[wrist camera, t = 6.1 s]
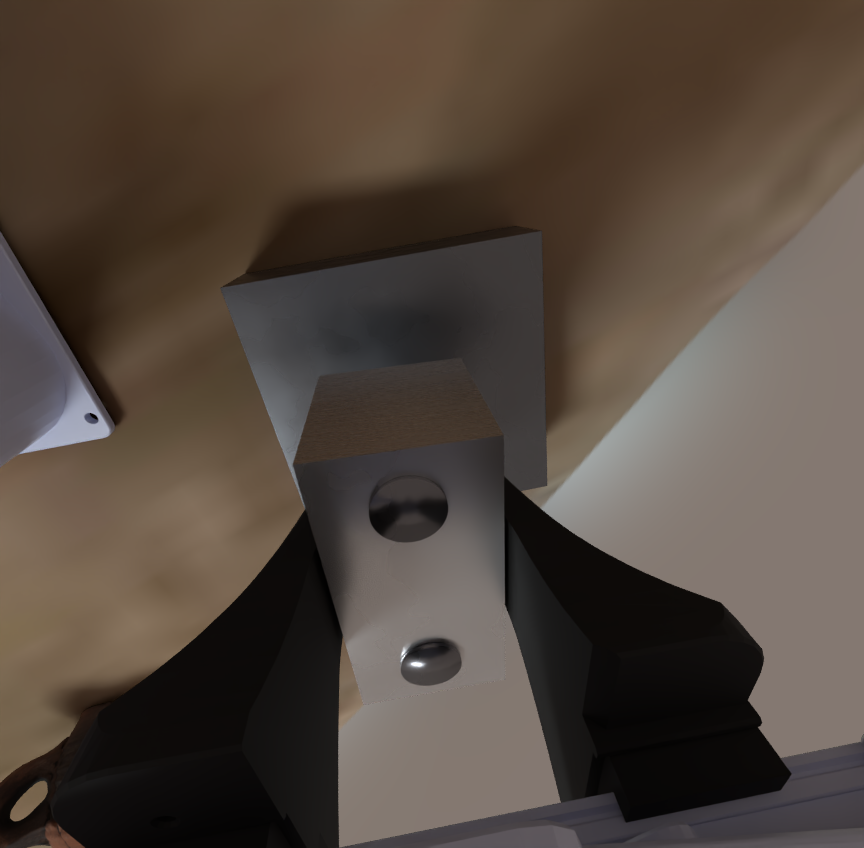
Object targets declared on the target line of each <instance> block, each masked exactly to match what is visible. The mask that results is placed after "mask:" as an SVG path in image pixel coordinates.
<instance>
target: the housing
mask: <svg viewBox="0 0 864 848" xmlns="http://www.w3.org/2000/svg"><path fill="white" fill-rule="evenodd" d="M293 468H294V471H295V475H296V478H297V482H298V485H299V488H300V492H301V495H302V499H303V502H304V505H305V509H306V512H307V515H308V519H309V522H310V526H311V529H312V532H313V536H314V539H315V542H316V546H317V549H318V553H319V556H320V559H321V563H322V566H323V569H324V573H325V576H326V580H327V583H328V586H329V590H330V593H331V596H332V600H333V603H334V607H335V610H336V613H337V617H338V620H339V624H340V627H341V630H342V634H343V637H344V640H345V644H346V647H347V651H348V654H349V657H350V661H351V664H352V667H353V671H354V674H355V678H356V681H357V684H358V688H359V691H360V694H361V698H362V701H363V705H366V704H371V703H377V702H383V701H388V700H394V699H400V698H405V697H411V696H416V695H421V694H427V693H433V692H438V691H443V690H449V689H455V688H460V687H466V686H471V685H477V684H483V683H488V682H494V681H499V680H505V550H504V435H503V433H502V431H501V429H500V428H499V426H498V424H497V422H496V420H495V419H494V417H493V415H492V413H491V411H490V410H489V408H488V406H487V404H486V402H485V401H484V399H483V397H482V395H481V393H480V392H479V390H478V388H477V386H476V384H475V383H474V381H473V379H472V377H471V375H470V374H469V372H468V370H467V368H466V367H465V365H464V363H463V361H462V359H461V358H456V359H448V360H440V361H432V362H424V363H416V364H408V365H400V366H392V367H385V368H377V369H369V370H361V371H353V372H345V373H337V374H329V375H321V376H319V379H318V382H317V385H316V389H315V392H314V395H313V399H312V402H311V405H310V409H309V412H308V415H307V419H306V422H305V425H304V429H303V432H302V435H301V439H300V442H299V445H298V449H297V452H296V455H295V458H294V462H293Z"/></svg>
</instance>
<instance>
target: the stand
mask: <svg viewBox="0 0 864 848" xmlns="http://www.w3.org/2000/svg"><path fill="white" fill-rule="evenodd" d="M221 291H222V293H223V296H224V299H225V301H226V304H227V307H228V309H229V312H230V314H231V317H232V320H233V322H234V325H235V327H236V330H237V333H238V335H239V338H240V340H241V343H242V346H243V348H244V351H245V354H246V356H247V359H248V361H249V364H250V367H251V369H252V372H253V374H254V377H255V380H256V382H257V385H258V387H259V390H260V393H261V395H262V398H263V400H264V403H265V406H266V408H267V411H268V414H269V416H270V419H271V421H272V424H273V427H274V429H275V432H276V434H277V437H278V440H279V442H280V445H281V447H282V450H283V453H284V455H285V458H286V461H287V463H288V466H289V468H290V471H291V474H292V476H293V479H294V481H295V484H296V487H297V489H298V492H299V494H300V497H301V500H302V502H303V499H302V495H301V492H300V488H299V485H298V482H297V478H296V475H295V471H294V468H293V462H294V458H295V455H296V452H297V449H298V445H299V442H300V439H301V435H302V432H303V429H304V425H305V422H306V419H307V415H308V412H309V409H310V405H311V402H312V399H313V395H314V392H315V389H316V385H317V382H318V379H319V376H321V375H329V374H337V373H345V372H353V371H361V370H369V369H377V368H385V367H392V366H400V365H408V364H416V363H424V362H432V361H440V360H448V359H456V358H461V359H462V361H463V363H464V365H465V367H466V368H467V370H468V372H469V374H470V375H471V377H472V379H473V381H474V383H475V384H476V386H477V388H478V390H479V392H480V393H481V395H482V397H483V399H484V401H485V402H486V404H487V406H488V408H489V410H490V411H491V413H492V415H493V417H494V419H495V420H496V422H497V424H498V426H499V428H500V429H501V431H502V433H503V435H504V476H505V477H506V478H507V479H508V480H509V481H510V482H511V483H512V484H513V485H514V486H515V487H516V488H518V489H519V490H520V491H523V490H528V489H533V488H538V487H543V486H547V451H546V402H545V354H544V306H543V258H542V231H540V230H535V229H529V228H524V227H519V226H513V227H507V228H501V229H496V230H490V231H484V232H479V233H473V234H467V235H462V236H456V237H450V238H445V239H439V240H433V241H428V242H422V243H416V244H411V245H405V246H399V247H394V248H388V249H382V250H377V251H371V252H365V253H360V254H354V255H348V256H343V257H337V258H331V259H326V260H320V261H314V262H309V263H303V264H297V265H292V266H286V267H280V268H275V269H269V270H263V271H258V272H252V273H247V274H243V275H242V276H240V277H238V278H236V279H235V280H233V281H231V282H230V283H228V284H226V285H225V286H223V287H221ZM303 505H304V502H303ZM304 508H305V505H304Z"/></svg>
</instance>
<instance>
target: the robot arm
mask: <svg viewBox="0 0 864 848" xmlns="http://www.w3.org/2000/svg"><path fill="white" fill-rule="evenodd" d="M90 413H92V414H95V415H96V416H97V417H98V420H96V419H94V418H92V417H91V416H90ZM114 430H115V425H114V422H113V421H112V419H111V417H110V416H109V414H108V412H107V411H106V409H105V407H104V405H103V404H102V402H101V400H100V399H99V397H98V395H97V394H96V392H95V390H94V389H93V387H92V385H91V384H90V382H89V380H88V378H87V377H86V375H85V373H84V372H83V370H82V368H81V367H80V365H79V363H78V362H77V360H76V358H75V357H74V355H73V353H72V351H71V350H70V348H69V346H68V345H67V343H66V341H65V340H64V338H63V336H62V335H61V333H60V331H59V329H58V328H57V326H56V324H55V323H54V321H53V319H52V318H51V316H50V314H49V313H48V311H47V309H46V308H45V306H44V304H43V302H42V301H41V299H40V297H39V296H38V294H37V292H36V291H35V289H34V287H33V286H32V284H31V282H30V281H29V279H28V277H27V275H26V274H25V272H24V270H23V269H22V267H21V265H20V264H19V262H18V260H17V259H16V257H15V255H14V254H13V252H12V250H11V248H10V247H9V245H8V243H7V242H6V240H5V238H4V237H3V235H2V233H1V232H0V467H1V466H2V465H4V464H5V463H7V462H8V461H9V460H11V459H12V458H14V457H15V456H16V455H18V454H22V453H27V452H32V451H38V450H43V449H48V448H53V447H59V446H64V445H69V444H75V443H80V442H85V441H90V440H96V439H101V438H105V437H108V436H109V435H110V434H111V433H112V432H113V431H114ZM504 550H505V606H506V608H507V611H508V613H509V616H510V619H511V621H512V624H513V627H514V630H515V633H516V636H517V639H518V642H519V646H520V649H521V653H522V656H523V660H524V663H525V667H526V670H527V674H528V678H529V681H530V685H531V688H532V692H533V696H534V700H535V703H536V707H537V711H538V714H539V718H540V722H541V726H542V730H543V733H544V737H545V741H546V745H547V749H548V752H549V756H550V761H551V765H552V769H553V772H554V777H555V780H556V785H557V789H558V793H559V796H560V801H561V803H557V804H552V805H547V806H543V807H538V808H533V809H528V810H523V811H518V812H513V813H508V814H503V815H498V816H493V817H488V818H484V819H478V820H473V821H469V822H464V823H459V824H454V825H449V826H444V827H439V828H434V829H429V830H424V831H419V832H414V833H409V834H404V835H400V836H395V837H390V838H385V839H380V840H375V841H370V842H365V843H360V844H355V845H351V846H345V847H341V848H864V734H863V736H862V738H861V742H858V743H853V744H848V745H843V746H838V747H833V748H829V749H823V750H818V751H813V752H809V753H803V754H799V755H794V756H789V757H784V758H780V757H779V756H778V754H777V753H776V752H775V750H774V749H773V747H772V746H771V745H770V743H769V742H768V741H767V739H766V738H765V736H764V735H763V734H762V732H761V731H760V730H759V728H758V727H759V726H761V724H762V721H761V718H760V716H759V715H758V713H757V712H756V711H755V709H754V708H753V707H752V706H751V704H750V703H749V702H748V698H749V696H750V694H751V692H752V690H753V688H754V686H755V684H756V681H757V680H758V677H759V675H760V673H761V670H762V666H763V662H764V656H763V651H762V648H761V647H760V646H759V645H758V644H757V643H756V641H755V640H754V639H753V638H752V637H751V636H750V634H749V633H748V632H747V631H746V630H745V628H744V627H743V626H742V625H741V624H740V622H739V621H738V620H737V619H736V618H735V617H734V616H733V615H732V614H731V613H730V612H729V611H728V610H727V609H726V608H725V607H724V606H723V604H722V603H720V602H718V601H715V600H712V599H709V598H707V597H704V596H701V595H698V594H696V593H693V592H690V591H688V590H685V589H682V588H679V587H677V586H674V585H672V584H669V583H667V582H665V581H662V580H660V579H658V578H655V577H653V576H651V575H649V574H646V573H644V572H642V571H640V570H638V569H636V568H633V567H631V566H629V565H627V564H625V563H624V562H622V561H620V560H618V559H616V558H614V557H612V556H610V555H608V554H606V553H605V552H603V551H601V550H599V549H598V548H596V547H594V546H593V545H591V544H589V543H588V542H586V541H585V540H583V539H581V538H580V537H578V536H577V535H575V534H573V533H572V532H571V531H569V530H568V529H566V528H565V527H563V526H562V525H561V524H559V523H558V522H557V521H555V520H554V519H552V518H551V517H550V516H549V515H548V514H546V513H545V512H544V511H543V510H542V509H540V508H539V507H538V506H537V505H536V504H534V503H533V502H532V501H531V500H530V499H529V498H527V497H526V496H525V495H524V494H523V493H522V492H521V491H520V490H519V489H518V488H516V487H515V486H514V485H513V484H512V483H511V482H510V481H509V480H508V479H507V478H506V477H505V476H504ZM342 638H343V634H342V630H341V627H340V624H339V620H338V617H337V613H336V610H335V607H334V603H333V600H332V596H331V593H330V590H329V586H328V583H327V580H326V576H325V573H324V569H323V566H322V563H321V559H320V556H319V553H318V549H317V546H316V542H315V539H314V536H313V532H312V529H311V526H310V522H309V519H308V515H307V512H306V509H305V510H304V512H303V513H302V515H301V517H300V518H299V520H298V521H297V523H296V524H295V526H294V527H293V529H292V530H291V532H290V533H289V534H288V536H287V537H286V539H285V540H284V542H283V543H282V544H281V546H280V547H279V549H278V550H277V551H276V553H275V554H274V555H273V556H272V558H271V559H270V560H269V561H268V563H267V564H266V565H265V567H264V568H263V569H262V570H261V572H260V573H259V574H258V575H257V576H256V578H255V579H254V580H253V581H252V582H251V584H250V585H249V586H248V587H247V588H246V589H245V590H244V591H243V592H242V594H241V595H240V596H239V597H238V598H237V599H236V600H235V601H234V602H233V603H232V604H231V605H230V606H229V607H228V608H227V609H226V610H225V611H224V612H223V613H222V614H221V615H220V616H219V617H217V618H216V619H215V620H214V621H213V622H212V623H211V624H210V625H209V626H208V627H207V628H206V629H205V630H204V631H203V632H202V633H201V634H199V635H198V636H197V637H196V638H195V639H194V640H193V641H191V642H190V643H189V644H188V645H187V646H186V647H184V648H183V649H182V650H181V651H180V652H178V653H177V654H176V655H175V656H173V657H172V658H171V659H170V660H169V661H167V662H166V663H165V664H164V665H162V666H161V667H160V668H159V669H157V670H156V671H155V672H153V673H152V674H151V675H150V676H148V677H147V678H145V679H144V680H143V681H141V682H140V683H139V684H137V685H136V686H135V687H133V688H132V689H130V690H129V691H128V692H126V693H125V694H124V695H122V696H121V697H119V698H118V699H117V700H115V701H114V702H113V703H111V704H110V705H108V706H107V707H105V708H104V709H103V710H101V711H100V712H99V713H98V715H97V717H96V718H95V720H94V722H93V723H92V725H91V727H90V728H89V730H88V732H87V734H86V735H85V737H84V739H83V741H82V743H81V745H80V747H79V748H78V750H77V752H76V754H75V756H74V758H73V760H72V762H71V764H70V766H69V768H68V769H67V771H66V773H65V775H64V777H63V779H62V781H61V783H60V785H59V787H58V789H57V790H56V792H55V794H54V796H53V799H52V801H51V803H50V806H51V812H52V816H53V818H54V820H55V821H56V822H57V824H58V825H59V826H60V827H61V828H62V829H63V830H64V831H65V832H66V833H68V834H69V835H70V836H71V837H73V838H74V839H75V840H76V841H77V842H79V843H80V844H81V845H82V846H84V847H85V848H339V823H338V717H339V671H340V656H341V646H342Z"/></svg>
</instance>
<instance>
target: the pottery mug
mask: <svg viewBox="0 0 864 848" xmlns="http://www.w3.org/2000/svg"><path fill="white" fill-rule="evenodd" d="M111 703H112V702H108V703H105V704H100V705H97V706H93V707H91V708H88V709H86V710H85V711H83V713H82V715H81V717H80V719H79V721H78V723H77V725H76V727H75V728H74V730H73V732H72V733H71V735H70V737H67V738H66V739H64V740H63V741H62V742H61V743H60V744H59V745H58V746H57V747H55V748H54V749H53V750H51V751H49V752H48V753H46V754H44V755H42V756H40V757H38V758H36V759H34V760H32V761H30V762H28V763H26V764H24V765H22V766H21V767H19V768H17V769H16V770H15V771H14V772H12V773H11V774H10V775H9V776H7V777H6V778H5V779H4V780H3V781H2V782H1V783H0V848H27V847H31V846H36V845H46V846H52V848H85V847H84V846H82V845H81V844H80V843H79V842H77V841H76V840H75V839H74V838H73V837H71V836H70V835H69V834H68V833H66V832H65V831H64V830H63V829H62V828H61V827H60V826H59V825H58V824H57V822H56V821H55V820H54V818H53V816H52V812H51V806H50V803H51V801H52V799H53V796H54V794H55V792H56V790H57V789H58V787H59V785H60V783H61V781H62V779H63V777H64V775H65V773H66V771H67V769H68V768H69V766H70V764H71V762H72V760H73V758H74V756H75V754H76V752H77V750H78V748H79V747H80V745H81V743H82V741H83V739H84V737H85V735H86V734H87V732H88V730H89V728H90V727H91V725H92V723H93V722H94V720H95V718H96V717H97V715H98V713H99V712H100V711H101V710H103V709H104V708H105V707H107V706H108V705H110V704H111ZM39 781H46V782H47V786H48V793H47V795H46V798H45V799H44V800H43V801H42V802H41V803H40V804H39V805H38V806H37V807H36V808H35V809H34V810H33V811H32V812H31V813H30V814H29V815H28V816H27V817H26V818H24V819H22V820H20V821H16V822H14V821H12V820H11V819H10V813H11V810H12V808H13V806H14V805H15V804H16V802H17V801H18V800H19V799H20V797H21V796H22V795H23V794H24V793H25V792H26V791H27V790H28V789H29V788H31V787H32V786H33V785H34V784H35V783H37V782H39Z"/></svg>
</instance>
